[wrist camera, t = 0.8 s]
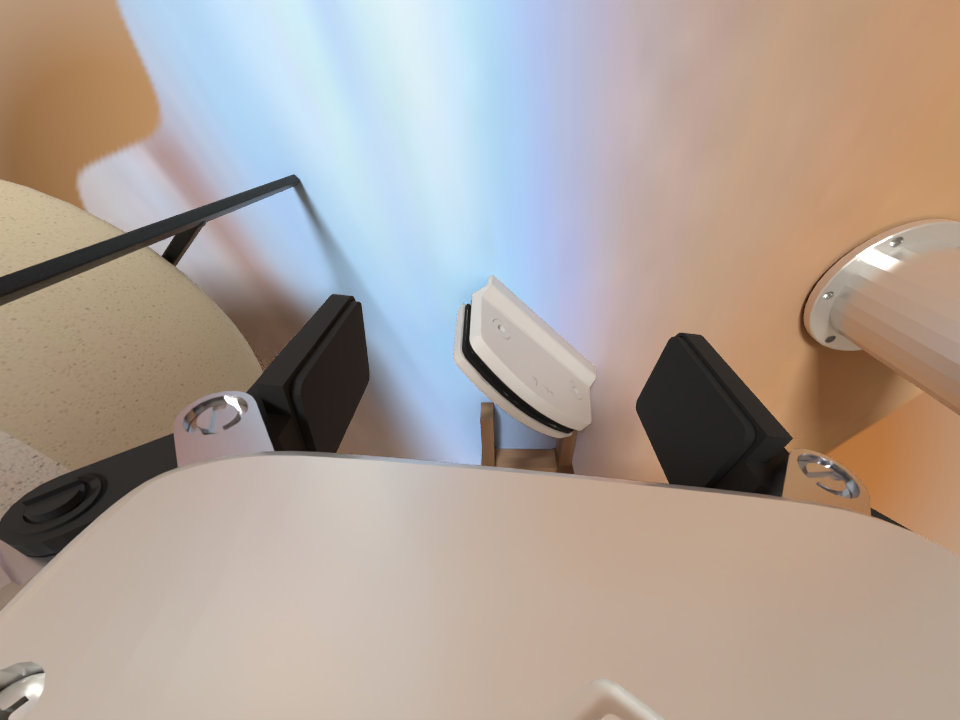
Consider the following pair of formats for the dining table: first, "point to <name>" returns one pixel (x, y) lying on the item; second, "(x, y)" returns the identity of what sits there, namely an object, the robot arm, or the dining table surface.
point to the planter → (103, 334)
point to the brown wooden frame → (524, 450)
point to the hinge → (523, 362)
